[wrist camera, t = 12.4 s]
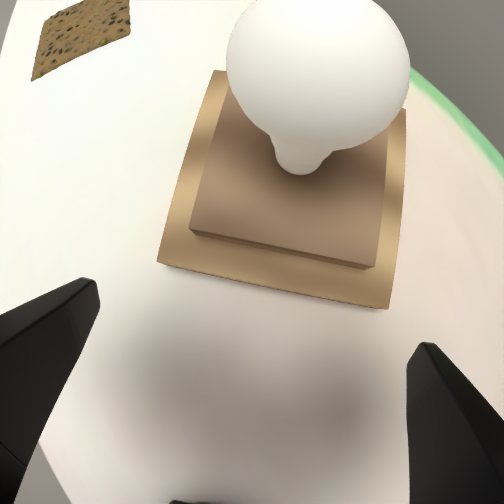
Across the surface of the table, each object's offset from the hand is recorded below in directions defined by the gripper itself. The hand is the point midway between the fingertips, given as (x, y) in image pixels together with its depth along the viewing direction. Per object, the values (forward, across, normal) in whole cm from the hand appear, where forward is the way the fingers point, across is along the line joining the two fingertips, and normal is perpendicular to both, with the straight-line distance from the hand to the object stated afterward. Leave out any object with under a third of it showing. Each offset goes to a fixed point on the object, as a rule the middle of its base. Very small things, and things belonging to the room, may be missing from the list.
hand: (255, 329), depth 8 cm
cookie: (+25, +24, -11) cm, 37 cm away
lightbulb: (+12, -1, -1) cm, 12 cm away
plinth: (+15, -1, +1) cm, 15 cm away
